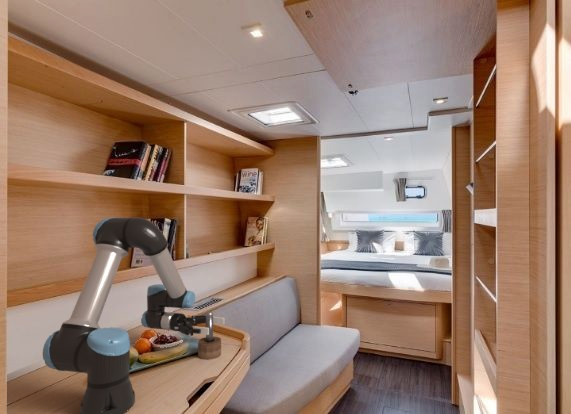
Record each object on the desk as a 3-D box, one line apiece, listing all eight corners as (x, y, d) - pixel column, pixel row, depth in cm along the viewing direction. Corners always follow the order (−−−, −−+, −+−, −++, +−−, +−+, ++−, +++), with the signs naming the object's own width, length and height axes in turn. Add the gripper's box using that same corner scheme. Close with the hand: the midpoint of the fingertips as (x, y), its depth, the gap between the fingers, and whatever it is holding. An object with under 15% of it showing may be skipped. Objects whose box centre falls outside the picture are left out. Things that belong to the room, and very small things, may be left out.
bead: (214, 360, 133) (214, 346, 133) (193, 357, 136) (193, 343, 136) (224, 351, 142) (224, 337, 143) (205, 348, 145) (205, 335, 145)
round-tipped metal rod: (210, 356, 137) (210, 312, 138) (204, 355, 138) (204, 312, 139) (214, 353, 140) (214, 310, 141) (208, 352, 141) (208, 310, 142)
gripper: (189, 321, 157) (229, 325, 150) (155, 340, 133) (200, 346, 127) (190, 305, 157) (229, 309, 151) (155, 321, 133) (201, 326, 127)
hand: (216, 326), depth 139 cm, fingers open, 13 cm apart
